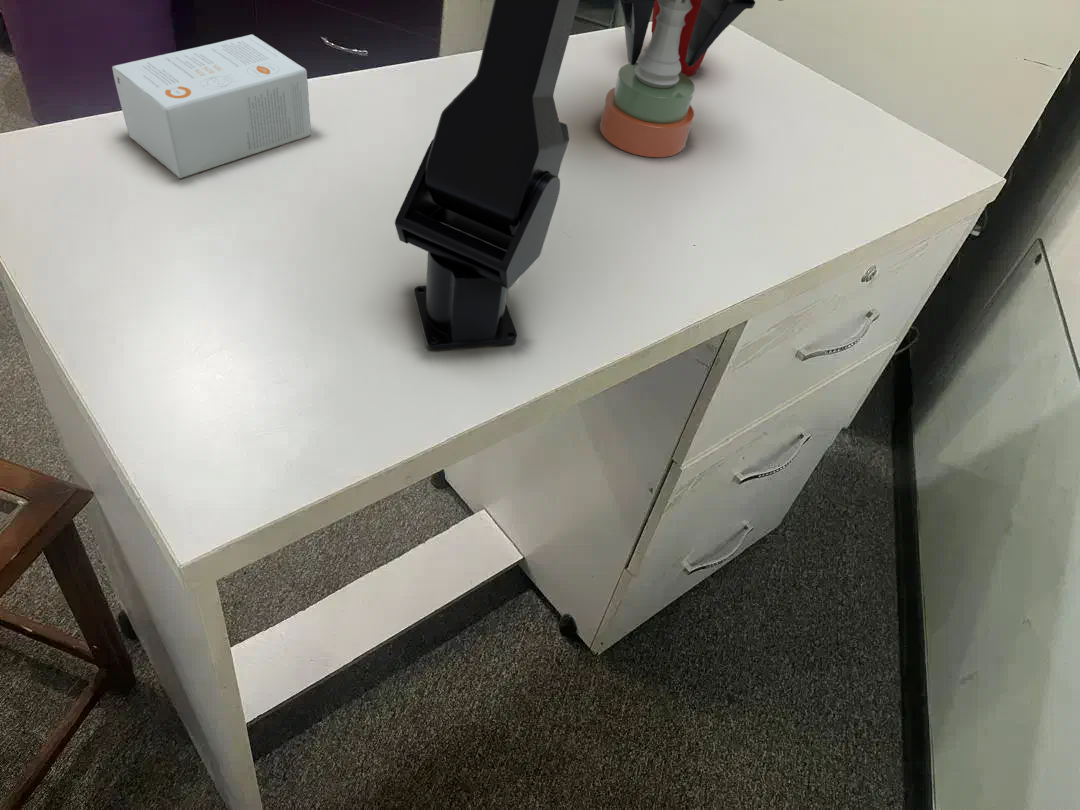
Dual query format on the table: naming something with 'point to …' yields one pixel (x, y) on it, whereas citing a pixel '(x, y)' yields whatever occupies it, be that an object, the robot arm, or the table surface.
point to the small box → (213, 103)
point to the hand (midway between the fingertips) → (660, 63)
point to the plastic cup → (684, 35)
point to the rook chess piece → (664, 46)
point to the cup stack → (647, 115)
